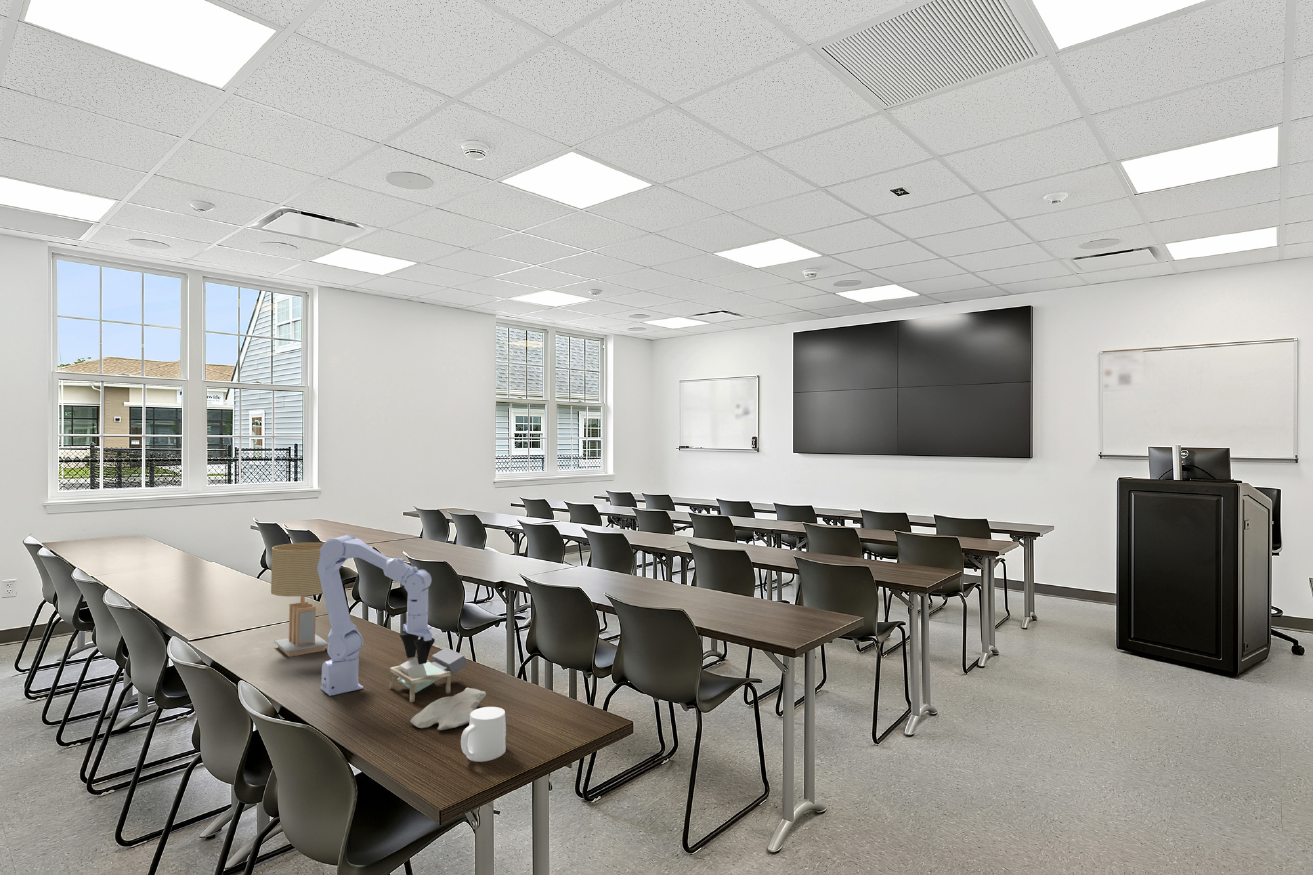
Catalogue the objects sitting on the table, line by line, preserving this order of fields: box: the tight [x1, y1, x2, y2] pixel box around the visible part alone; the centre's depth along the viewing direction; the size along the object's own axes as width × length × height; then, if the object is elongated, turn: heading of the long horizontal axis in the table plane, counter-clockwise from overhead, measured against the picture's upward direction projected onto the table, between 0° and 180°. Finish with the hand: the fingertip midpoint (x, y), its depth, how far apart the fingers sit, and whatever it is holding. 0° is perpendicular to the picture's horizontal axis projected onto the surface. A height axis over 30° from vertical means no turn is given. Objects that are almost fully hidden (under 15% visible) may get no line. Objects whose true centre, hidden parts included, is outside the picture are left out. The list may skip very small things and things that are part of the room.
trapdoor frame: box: [388, 659, 452, 703], centre depth 204 cm, size 12×15×6 cm
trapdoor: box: [397, 646, 468, 694], centre depth 207 cm, size 16×12×4 cm
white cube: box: [399, 656, 427, 683], centre depth 203 cm, size 5×5×5 cm
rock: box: [410, 687, 487, 731], centre depth 184 cm, size 21×5×15 cm
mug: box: [460, 706, 507, 763], centre depth 163 cm, size 12×9×8 cm
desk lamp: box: [270, 542, 328, 658], centre depth 242 cm, size 20×20×35 cm
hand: (416, 660), depth 203 cm, fingers open, 7 cm apart
